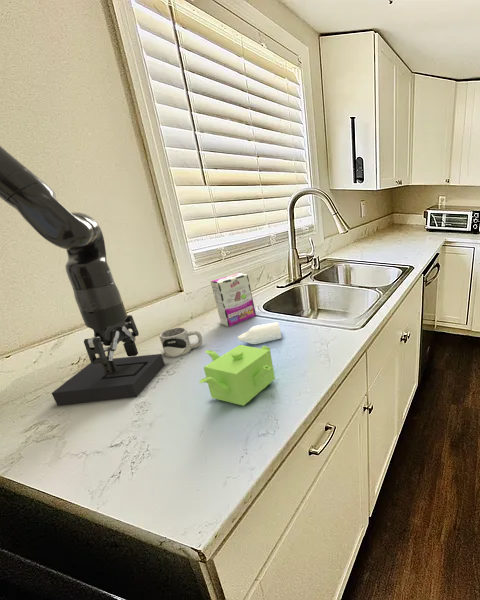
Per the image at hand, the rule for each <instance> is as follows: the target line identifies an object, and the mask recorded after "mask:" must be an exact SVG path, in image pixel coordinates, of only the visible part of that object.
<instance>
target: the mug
mask: <svg viewBox="0 0 480 600" xmlns="http://www.w3.org/2000/svg"><path fill="white" fill-rule="evenodd" d="M158 335H159V340H160V343H161V346H162V350H163V352H164V355H165V357H167V358H176V357H180V356H183V355H186V354H188V353H189V352H190V351H192V349H195V348H197V347H200V346H202V345H203V342H204V340H203V336H202V334H201V332H200V331H195V330H188V329H187V327H182V326H181V327H179V326H177V327H171V328H168V329H165V330H163V331H161V332H160V333H159V334H158ZM191 336H197V340H198V342H196V343H195V342H194V343H191V341H190V337H191Z"/></svg>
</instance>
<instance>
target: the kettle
mask: <svg viewBox="0 0 480 600" xmlns="http://www.w3.org/2000/svg"><path fill="white" fill-rule="evenodd" d="M205 353H206V354H207V355H208V356H209V357H210V358H211V359H212V361H211V362H209V363H208V364H207V365H205V366H204V367H203V370H204V375H205V377H204V378H202V379H200V380H199V381H198V383H200V384H204V383H206V384H207V385H208V389H209V393H210V397H211V399H215V400H219V401H223V402H227V403H231V404H235V405H238V406H243V407H244V406H245V405H247V403H249V402H250V401H252V399H253V398H255V397H256V396H257V395H259V393H260V392H262V391H263V390H265V389H266V388H267V387H268V385H270V384H271V383H272V382H273V381H274V380H276V376H275V371H274V364H273V358H272V353H271V348H270V347H269V346H267V345H262V346H261V348H260V347H254V346H250V345H249V346H248V345H242V344H239V345H237V346H236V347H234V348H232V349H231V350H229V351H227V352H225V353H224V354H221V356H220V354H218V353H217V352H216V351H214V350H211V349H208V350H205Z"/></svg>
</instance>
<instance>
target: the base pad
mask: <svg viewBox="0 0 480 600" xmlns="http://www.w3.org/2000/svg"><path fill="white" fill-rule="evenodd" d="M113 359H114V361H115V364H116V366H124V365H134V364H145V366H144V367H143V368H142V369H141V370H140V371H139V372H138V373H137V374H136V375H135V376H128V377H118V378H109V379H106V378H105V377H106V376H107V375H106V374H105V372H104V369H103V367H102V364H101V363H96V364H92V363H91V362H90V363H88V364H87V365H85V366H84V367H83V368H82V369H80V370H79V371H78V372H77V373H76V374H74V375H73V376H72V377H70V378H69V379H67V380H66V381H65V382H64V383H62V384H61V385H60V386H59V387H57V388H56V389H55V390H53V391H52V392H51V395H52V398H53V400H54V402H55V405H57V407H62V406H70V405H80V404H87V403H88V404H89V403H96V402H104V401H114V400H121V399H122V400H123V399H131V398H137V397H138V396H139V395H140V394H141V393H142V392H144V390H145V389H146V387H148V385H149V384H150V383H152V381H153V380H154V378H155V377H156V376H157V375H158V374H159V373H160V371H161V370H162V369H163V368H164V367H165V366H166V365H165V364H166V363H165V361H164V358H163V354H162V353H155V354H145V355H136V356H130V357H129V356H125V357H115V358H114V357H113Z"/></svg>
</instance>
